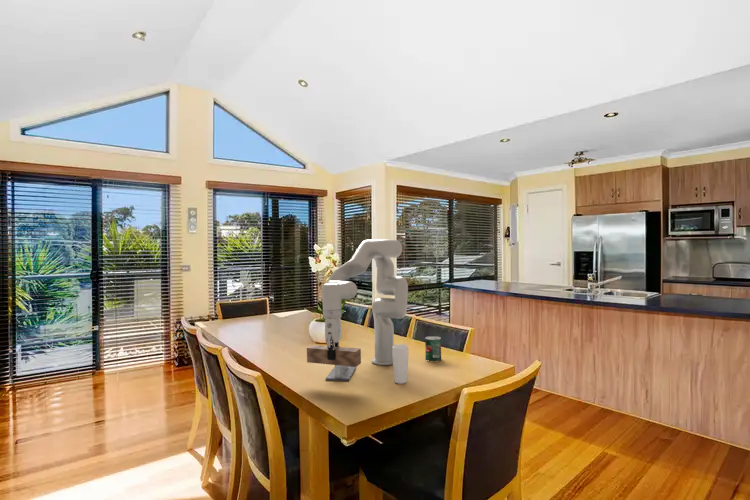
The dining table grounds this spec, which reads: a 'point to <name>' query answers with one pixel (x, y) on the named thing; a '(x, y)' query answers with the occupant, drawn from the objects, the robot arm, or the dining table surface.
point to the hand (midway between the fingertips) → (333, 356)
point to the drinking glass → (400, 363)
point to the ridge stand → (341, 373)
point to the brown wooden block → (343, 356)
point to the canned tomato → (433, 348)
